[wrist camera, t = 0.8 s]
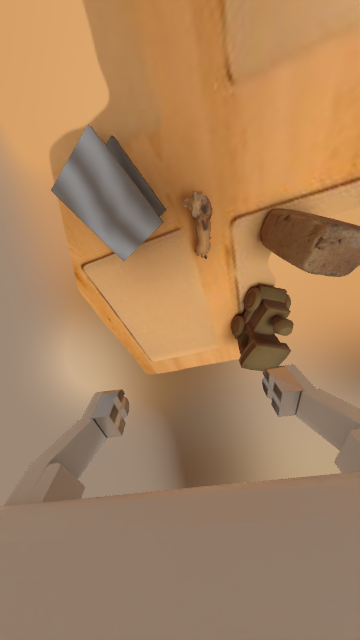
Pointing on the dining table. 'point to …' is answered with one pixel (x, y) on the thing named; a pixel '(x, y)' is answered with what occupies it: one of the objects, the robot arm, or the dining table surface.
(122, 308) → the dining table surface
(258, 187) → the dining table surface
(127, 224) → the stand
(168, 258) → the dining table surface
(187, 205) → the lion figurine
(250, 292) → the wooden toy train
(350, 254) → the block
